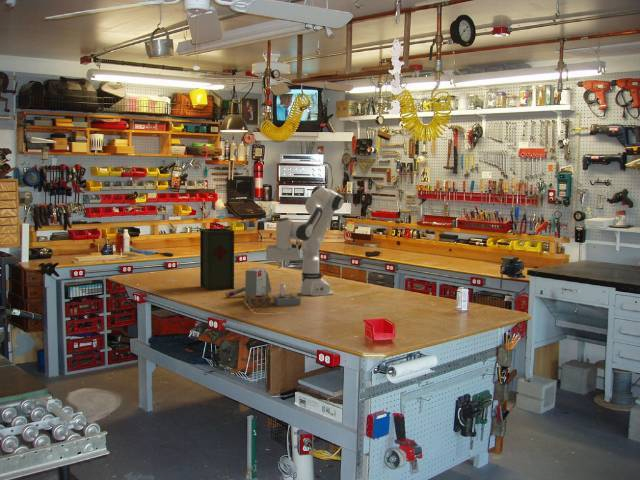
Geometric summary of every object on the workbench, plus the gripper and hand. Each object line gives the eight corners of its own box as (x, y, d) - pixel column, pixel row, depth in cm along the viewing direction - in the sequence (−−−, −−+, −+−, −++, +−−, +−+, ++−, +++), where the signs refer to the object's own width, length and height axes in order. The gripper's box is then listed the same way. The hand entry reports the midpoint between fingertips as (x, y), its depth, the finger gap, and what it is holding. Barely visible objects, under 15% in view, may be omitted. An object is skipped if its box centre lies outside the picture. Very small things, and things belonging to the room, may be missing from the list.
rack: (267, 304, 396) (267, 294, 396) (270, 307, 387) (270, 298, 386) (247, 305, 393) (248, 295, 392) (250, 308, 383) (250, 298, 383)
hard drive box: (256, 303, 399) (256, 271, 397) (244, 302, 401) (244, 270, 399) (266, 298, 413) (266, 267, 411) (255, 297, 416) (255, 267, 414)
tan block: (294, 302, 398) (294, 292, 398) (296, 303, 393) (296, 293, 393) (290, 302, 397) (290, 292, 397) (292, 303, 393) (292, 294, 392)
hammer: (226, 285, 408) (267, 270, 423) (221, 283, 415) (261, 268, 430) (231, 308, 412) (272, 292, 427) (226, 305, 419) (266, 290, 433)
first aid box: (225, 284, 460) (226, 228, 456) (234, 289, 444) (234, 230, 439) (200, 286, 452) (200, 228, 448) (207, 290, 436) (207, 231, 431)
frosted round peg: (284, 303, 396) (284, 283, 394) (285, 304, 392) (285, 284, 391) (279, 303, 395) (279, 284, 393) (280, 304, 392) (280, 285, 390)
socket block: (296, 303, 401) (296, 295, 401) (300, 306, 392) (300, 298, 391) (273, 304, 397) (274, 296, 397) (277, 307, 388) (277, 299, 387)
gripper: (267, 245, 384) (267, 269, 385) (300, 245, 389) (300, 268, 391) (265, 244, 390) (264, 267, 391) (298, 244, 395) (297, 266, 397)
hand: (282, 267), depth 391 cm, fingers open, 3 cm apart
